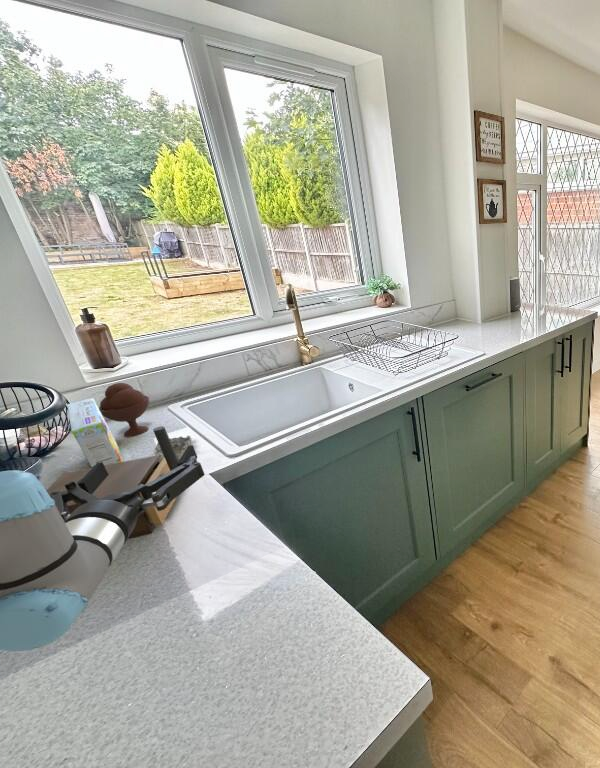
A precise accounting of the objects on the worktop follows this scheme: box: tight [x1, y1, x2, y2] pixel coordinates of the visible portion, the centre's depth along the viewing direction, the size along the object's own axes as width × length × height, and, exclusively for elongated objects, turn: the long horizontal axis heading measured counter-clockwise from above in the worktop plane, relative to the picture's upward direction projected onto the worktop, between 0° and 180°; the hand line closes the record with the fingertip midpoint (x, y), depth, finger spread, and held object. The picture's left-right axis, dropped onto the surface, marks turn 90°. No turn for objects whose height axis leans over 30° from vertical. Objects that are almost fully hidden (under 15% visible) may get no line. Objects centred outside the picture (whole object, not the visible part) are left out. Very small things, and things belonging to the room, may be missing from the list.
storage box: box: [45, 455, 161, 540], centre depth 83 cm, size 16×14×10 cm
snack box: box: [67, 397, 124, 468], centre depth 102 cm, size 21×6×15 cm, turn 47°
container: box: [137, 425, 179, 527], centre depth 82 cm, size 20×14×18 cm
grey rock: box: [151, 435, 193, 461], centre depth 107 cm, size 11×8×4 cm
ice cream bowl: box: [98, 382, 150, 438], centre depth 118 cm, size 11×11×15 cm
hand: (149, 459), depth 76 cm, fingers open, 13 cm apart
